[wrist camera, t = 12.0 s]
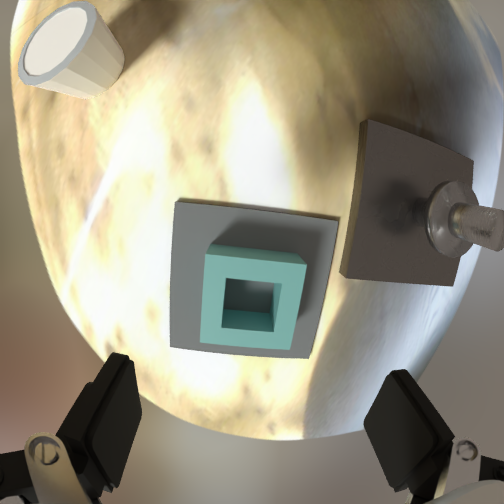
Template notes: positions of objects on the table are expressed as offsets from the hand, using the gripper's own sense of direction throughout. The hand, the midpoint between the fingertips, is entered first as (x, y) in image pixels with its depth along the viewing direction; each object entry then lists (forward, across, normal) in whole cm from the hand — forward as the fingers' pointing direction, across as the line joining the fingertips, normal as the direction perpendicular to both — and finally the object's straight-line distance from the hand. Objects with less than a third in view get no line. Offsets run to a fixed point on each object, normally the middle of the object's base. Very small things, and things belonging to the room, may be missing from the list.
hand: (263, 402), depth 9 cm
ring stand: (+13, -13, -7) cm, 20 cm away
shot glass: (+14, +15, -16) cm, 26 cm away
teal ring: (+12, 0, +1) cm, 12 cm away
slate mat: (+13, 0, +1) cm, 13 cm away
